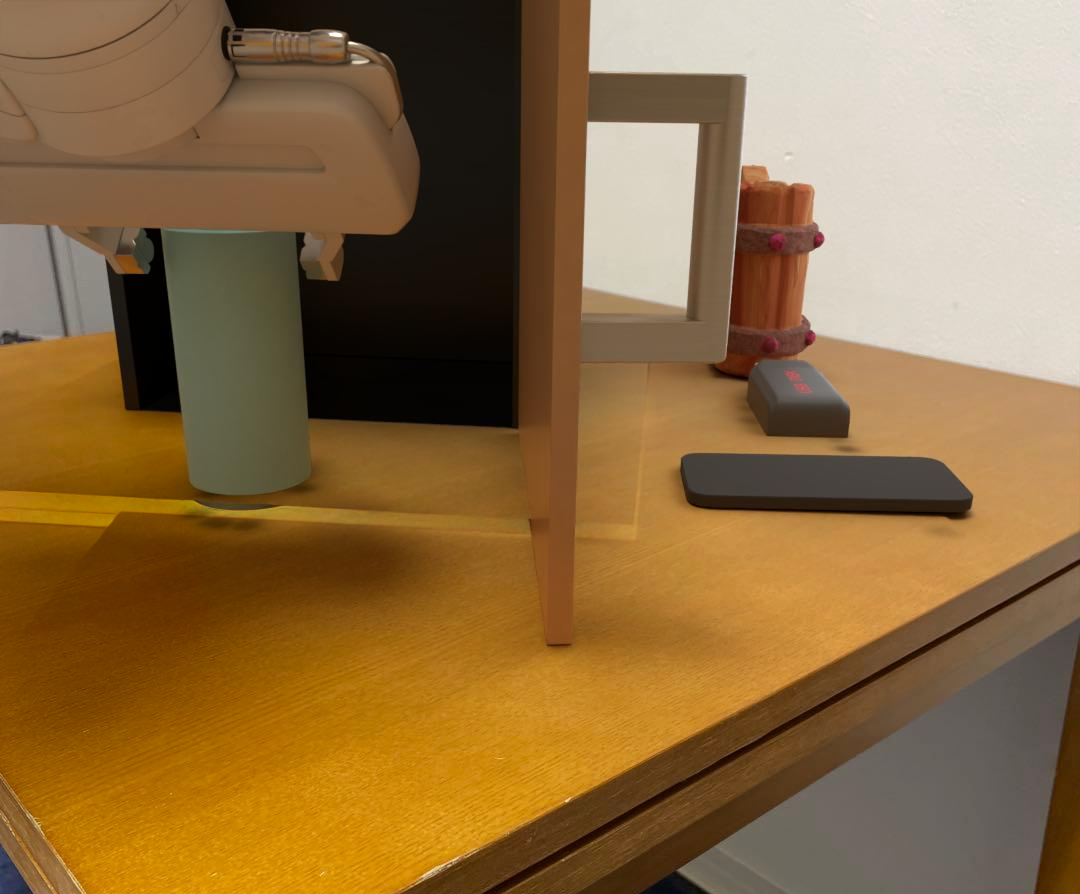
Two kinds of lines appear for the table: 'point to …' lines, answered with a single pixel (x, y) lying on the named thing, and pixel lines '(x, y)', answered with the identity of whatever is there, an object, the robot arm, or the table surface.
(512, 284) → the box
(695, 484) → the phone
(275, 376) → the bottle
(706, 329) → the fridge door
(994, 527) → the table surface
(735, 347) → the mug
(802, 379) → the grey rounded block
